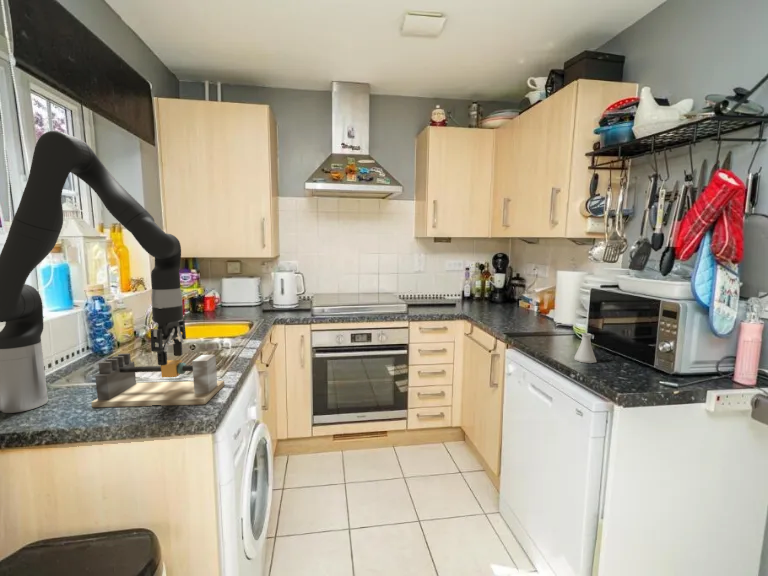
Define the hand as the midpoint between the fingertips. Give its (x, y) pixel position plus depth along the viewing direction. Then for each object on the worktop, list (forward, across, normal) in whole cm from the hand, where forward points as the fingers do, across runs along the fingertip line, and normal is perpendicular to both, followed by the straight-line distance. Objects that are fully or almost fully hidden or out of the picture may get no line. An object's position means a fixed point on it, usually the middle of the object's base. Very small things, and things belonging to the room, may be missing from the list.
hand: (170, 360), depth 108 cm
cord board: (+10, 0, -3) cm, 11 cm away
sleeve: (+4, 0, 0) cm, 4 cm away
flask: (+9, -22, +136) cm, 138 cm away
